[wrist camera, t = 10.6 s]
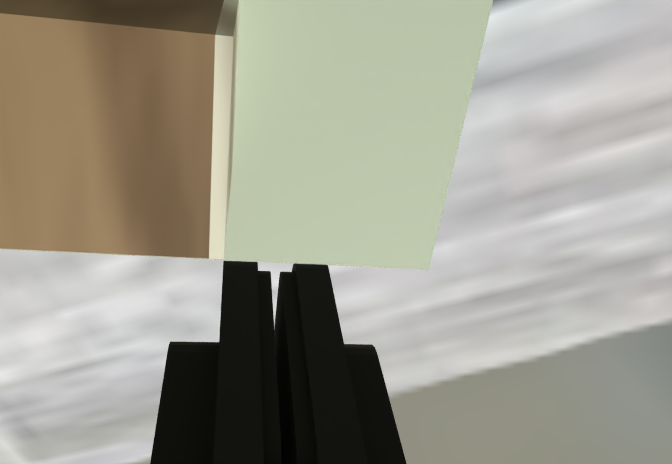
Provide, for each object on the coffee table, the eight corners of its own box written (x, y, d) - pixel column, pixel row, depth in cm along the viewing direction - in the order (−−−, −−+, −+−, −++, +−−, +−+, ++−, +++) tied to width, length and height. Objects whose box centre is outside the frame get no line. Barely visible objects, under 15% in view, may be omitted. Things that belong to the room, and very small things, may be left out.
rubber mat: (515, -126, 19) (523, -126, 19) (425, 261, 26) (428, 269, 26) (-366, -257, 16) (-388, -261, 15) (-197, 230, 23) (-207, 239, 22)
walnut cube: (233, 36, 14) (-55, 7, 13) (223, 259, 17) (-12, 247, 16) (240, -13, 19) (32, -37, 18) (232, 165, 22) (53, 152, 21)
